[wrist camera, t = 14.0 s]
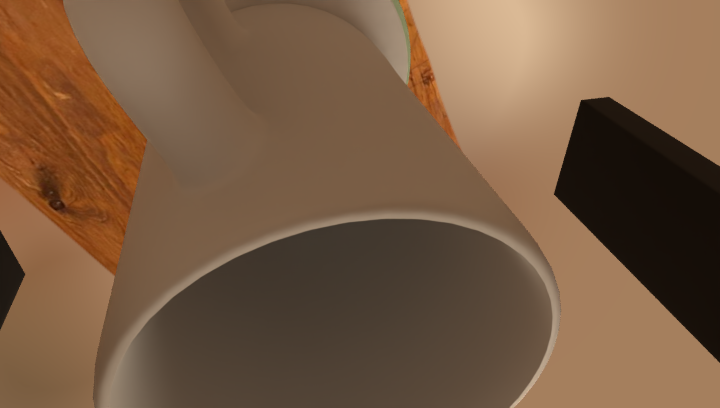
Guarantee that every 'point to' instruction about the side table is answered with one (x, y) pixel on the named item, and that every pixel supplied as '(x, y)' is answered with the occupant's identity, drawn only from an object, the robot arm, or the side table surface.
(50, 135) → the side table surface
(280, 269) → the mug
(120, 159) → the side table surface
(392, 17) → the round tin
